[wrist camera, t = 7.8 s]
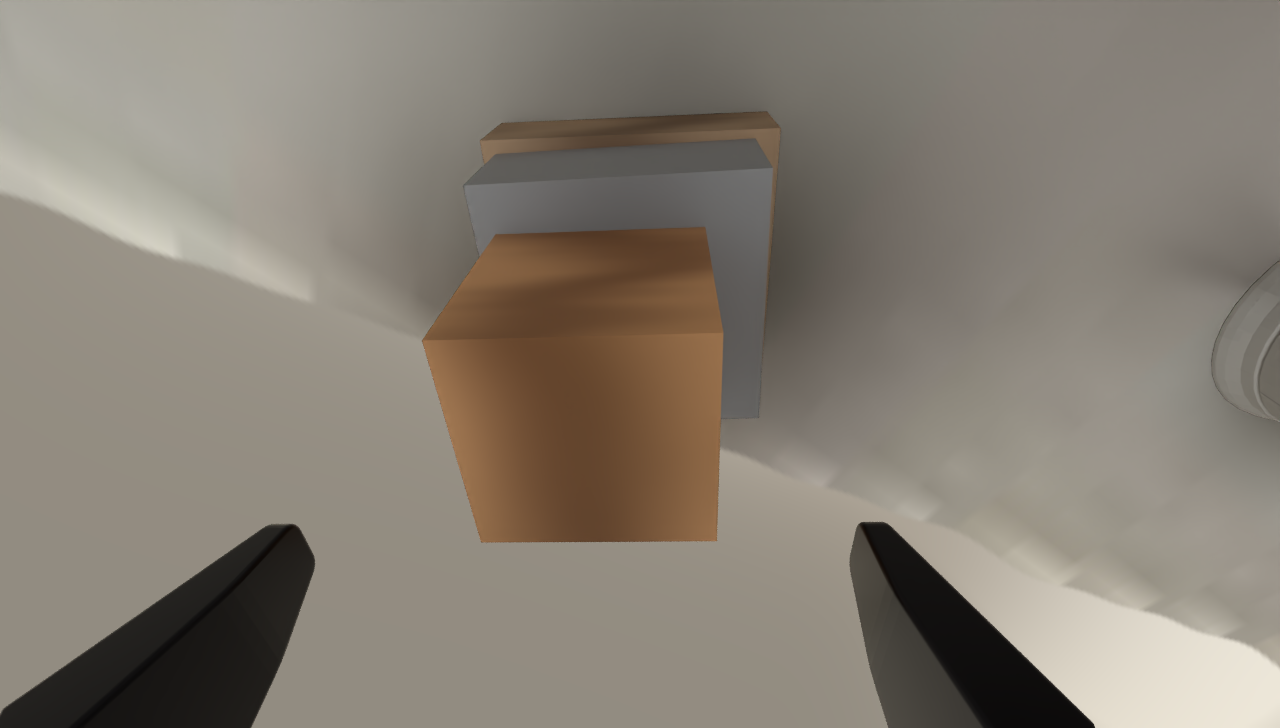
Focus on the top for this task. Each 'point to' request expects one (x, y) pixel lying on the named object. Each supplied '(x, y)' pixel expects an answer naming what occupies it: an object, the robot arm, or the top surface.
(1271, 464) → the top surface
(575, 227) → the tower top
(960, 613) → the robot arm
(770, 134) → the tower base
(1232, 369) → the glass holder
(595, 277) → the orange cube
